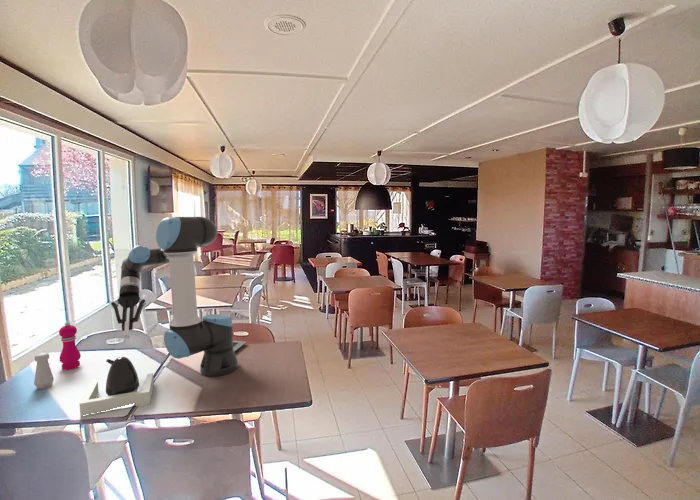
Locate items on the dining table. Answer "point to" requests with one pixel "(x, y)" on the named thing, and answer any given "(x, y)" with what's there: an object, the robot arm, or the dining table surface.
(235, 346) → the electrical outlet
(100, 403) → the bay
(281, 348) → the dining table surface
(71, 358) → the pepper mill
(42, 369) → the salt shaker
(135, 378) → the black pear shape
